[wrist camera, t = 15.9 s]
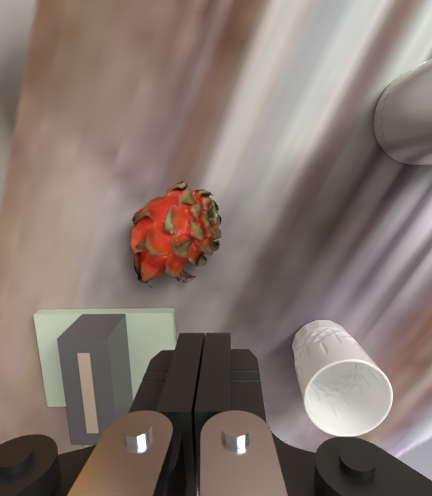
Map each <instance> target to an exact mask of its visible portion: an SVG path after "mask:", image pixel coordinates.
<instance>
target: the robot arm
mask: <svg viewBox="0 0 432 496" xmlns="http://www.w3.org/2000/svg"><path fill="white" fill-rule="evenodd" d="M374 132H375V135H376V139H377V141H378V143H379V145H380V147H381V148H382V149H383V151H384V152H385V153H386V154H387V155H388V156H390V157H391V158H392V159H394V160H396V161H398V162H401V163H404V164H409V165H432V59H431V60H429V61H427V62H425V63H423V64H421V65H419V66H418V67H416V68H414V69H412V70H410V71H408V72H407V73H405V74H403V75H401V76H400V77H398V78H397V79H396V80H394V81H393V82H392V83H391V84H390V85H389V86H388V87H387V88H386V89H385V91H384V92H383V94H382V96H381V97H380V99H379V101H378V104H377V106H376V109H375V114H374ZM197 491H198V494H199V496H432V481H431V480H430V479H428V478H426V477H425V476H423V475H422V474H420V473H419V472H417V471H415V470H414V469H412V468H411V467H409V466H408V465H406V464H404V463H403V462H401V461H400V460H398V459H397V458H395V457H394V456H392V455H390V454H389V453H387V452H386V451H384V450H383V449H381V448H379V447H378V446H376V445H374V444H372V443H370V442H368V441H365V440H362V439H359V438H354V437H335V438H331V439H328V440H327V441H325V442H323V443H322V444H321V445H320V446H319V448H318V449H317V451H316V453H313V452H309V451H305V450H302V449H298V448H295V447H292V446H290V445H288V444H286V443H284V442H283V441H281V440H280V439H278V438H277V437H276V436H275V435H274V434H273V433H272V432H271V430H270V428H269V426H268V425H267V422H266V417H265V410H264V403H263V396H262V389H261V382H260V375H259V368H258V361H257V358H256V357H255V356H254V355H253V354H252V352H251V351H250V350H249V349H231V339H230V333H206V336H205V334H204V333H180V334H179V337H178V341H177V344H176V347H175V350H161V351H160V352H159V353H158V354H157V355H155V356H154V357H153V358H152V359H151V360H150V362H149V365H148V367H147V369H146V373H145V374H144V377H143V379H142V382H141V384H140V386H139V389H138V391H137V393H136V396H135V398H134V400H133V403H132V405H131V408H130V410H129V412H128V414H126V415H123V416H121V417H119V418H118V419H116V420H115V421H113V422H112V423H111V424H110V425H109V426H108V427H107V428H106V430H105V431H104V433H103V435H102V436H101V438H100V440H99V441H98V443H97V444H96V445H94V446H91V447H87V448H84V449H80V450H76V451H72V452H67V453H63V454H59V455H58V450H57V445H56V443H55V441H54V440H53V439H51V438H50V437H48V436H45V435H36V434H34V435H26V436H21V437H18V438H15V439H12V440H9V441H7V442H5V443H3V444H1V445H0V496H197Z"/></svg>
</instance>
